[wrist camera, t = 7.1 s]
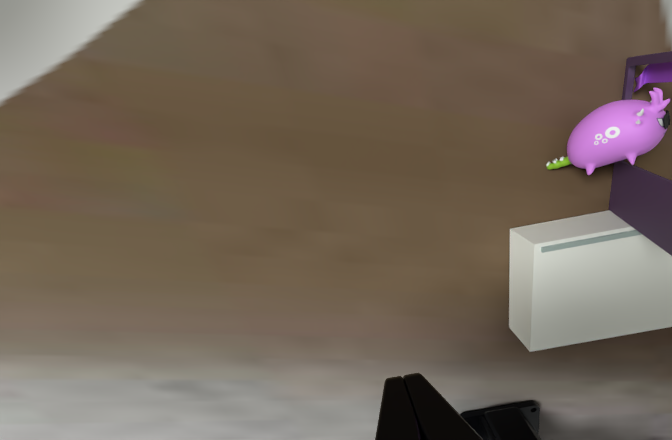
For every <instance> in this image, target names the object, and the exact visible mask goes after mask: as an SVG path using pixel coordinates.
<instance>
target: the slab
mask: <svg viewBox="0 0 672 440" xmlns="http://www.w3.org/2000/svg"><path fill="white" fill-rule="evenodd" d="M668 327H672V256H671V255H670V254H668V253H667V252H666V251H664V250H663V249H662V248H660V247H659V246H658V245H656V244H655V243H653V242H652V241H651V240H649V239H648V238H647V237H645V236H644V235H643V234H641V233H640V232H638V231H637V230H636V229H634V228H633V227H632V226H630V225H629V224H628V223H626V222H625V221H623V220H622V219H621V218H619V217H618V216H617V215H615V214H614V213H612V212H611V211H610V210H608V211H603V212H598V213H592V214H587V215H581V216H576V217H571V218H565V219H560V220H554V221H549V222H544V223H538V224H533V225H527V226H522V227H517V228H511V229H510V273H509V328H510V329H511V330H512V331H513V333H514V334H515V335H516V336H517V337H518V338H519V340H520V341H521V342H522V343H523V344H524V345H525V347H526V348H527V349H528V350H529V351H530V352H532V351H538V350H544V349H549V348H555V347H561V346H566V345H572V344H577V343H583V342H589V341H594V340H600V339H606V338H611V337H617V336H623V335H628V334H634V333H639V332H645V331H651V330H656V329H662V328H668Z"/></svg>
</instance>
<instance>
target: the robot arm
mask: <svg viewBox="0 0 672 440" xmlns="http://www.w3.org/2000/svg"><path fill="white" fill-rule="evenodd" d="M539 413H540V408H539V406H538V405H537V403H536V402H534V401H530V402H524V403H518V404H512V405H507V406H501V407H495V408H489V409H484V410H478V411H472V412H466V413H462V414H461V415H460V414H459V413H458V412H457V411H456V410H455V409H454V408H453V407H452V406H451V405H450V404H449V403H448V402H447V401H446V400H445V399H444V398H443V397H442V396H441V394H440V393H439V392H438V391H437V390H436V389H435V388H434V387H433V386H432V385H431V384H430V383H429V382H428V381H427V380H426V379H425V378H424V377H423V376H422V375H421V374H420V373H414V374H409V375H405V376H404V377H403V378H402V377H401V376H398V377H392V378H387V379H386V380H385V384H384V390H383V396H382V402H381V408H380V414H379V420H378V426H377V432H376V438H375V440H541V438H540V437H539V435H538V430H539Z"/></svg>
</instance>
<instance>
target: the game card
mask: <svg viewBox="0 0 672 440" xmlns="http://www.w3.org/2000/svg"><path fill="white" fill-rule="evenodd" d="M645 64H649V65H648V66H646V68H645V69H644V71H643V72H642V74H641V75H640V76H639V77H637V78H635V81H636V83H637V85H636V88H635V90H634V92H636V91H637V90H638V89H639V88H641V87H642V86H643V85H644V84H645V83H657V82H672V51H670V52H663V53H656V54H649V55H642V56H635V57H630V58H628V59H627V62H626V70H625V79H624V87H623V95H622V100H620V101H615V102H611V103H608V104H605V105H603V106H601V107H599V108H597V109H596V110H594V111H592V112H591V113H590V114H588V115H587V116H586V117H585V118H584V119H582V120H581V121H580V122H579V123H578V125H577V126H576V127H575V128H574V130H573V131H572V133H571V135H570V137H569V139H568V143H567V155H568V156H567V157H565V158H564V157H562V158H560V160H557V159H556V161H555V160H554V162H553V161H552V162H553V163H550V162H548V163H547V165H546V166H547V169H548V170H551V169H557V168H560V167H563V166H567V165H569V164H573V165H574V166H576V167H578V168H582V169H586V171H587V175H591V174H592V173H593V171H594V169H595V168H597V167H601V166H604V165H608V164H611V163H614V168H613V177H612V185H611V193H610V201H609V210H610V211H611V212H612V213H614V214H615V215H617V216H618V217H619V218H621V219H622V220H623V221H625V222H626V223H628V224H629V225H630V226H632V227H633V228H634V229H636V230H637V231H638V232H640V233H641V234H643V235H644V236H645V237H647V238H648V239H649V240H651V241H652V242H653V243H655V244H656V245H658V246H659V247H660V248H662V249H663V250H664V251H666V252H667V253H668V254H670V255H671V256H672V181H671V180H668V179H666V178H664V177H661V176H659V175H656V174H654V173H651V172H649V171H647V170H644V169H642V168H639V167H637V166H634V165H633V164H634V163H635V160H636V157H637V156H639V155H642V154H645V153H647V152H649V151H650V150H652V149H653V148H654V147H655V146H656V145H657V144H658V143H659V142H660V141H661V139H662V138H663V136H664V134H665V132H666V130H667V128H668V125H670V115H669V111H667V110H666V113H665V111H664V110H663V109H664V108H665V107H666V106H667V104H668V103H669V102H670V99H667V100H665V101H663V92H662V90H661V89H659V88H653V89H654V91H649V93H650V95H651V98H652V100H651V101H650V102H647V101H642V100H631V99H632V92H633V84H634V76H635V69H636V65H645ZM624 159H628V160H629V162H630V163H631V164H630V163H627V162H625V161H624Z"/></svg>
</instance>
